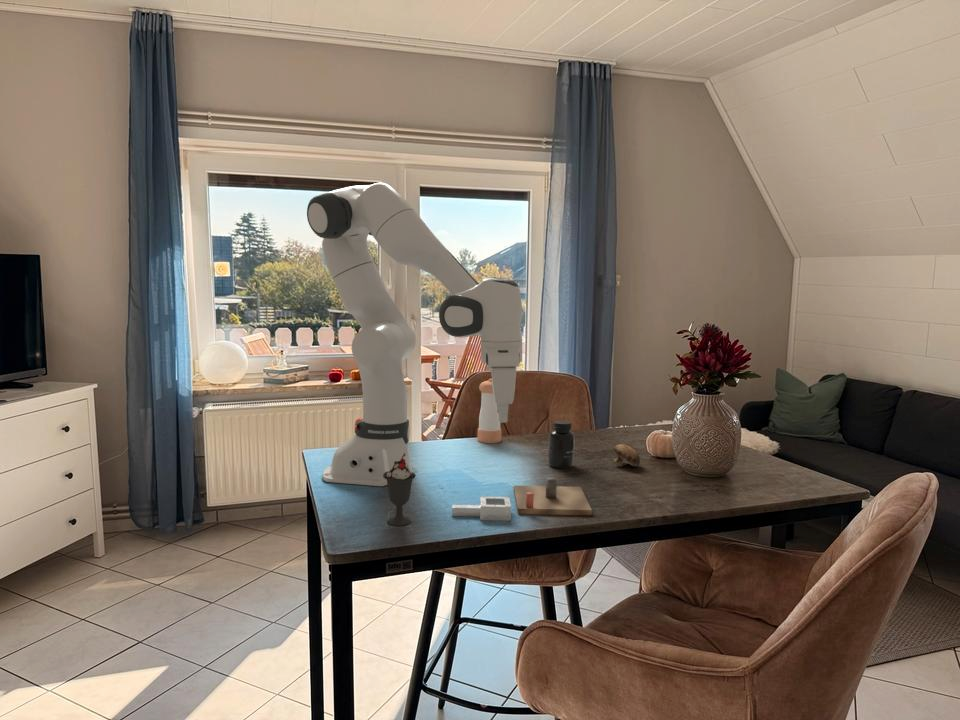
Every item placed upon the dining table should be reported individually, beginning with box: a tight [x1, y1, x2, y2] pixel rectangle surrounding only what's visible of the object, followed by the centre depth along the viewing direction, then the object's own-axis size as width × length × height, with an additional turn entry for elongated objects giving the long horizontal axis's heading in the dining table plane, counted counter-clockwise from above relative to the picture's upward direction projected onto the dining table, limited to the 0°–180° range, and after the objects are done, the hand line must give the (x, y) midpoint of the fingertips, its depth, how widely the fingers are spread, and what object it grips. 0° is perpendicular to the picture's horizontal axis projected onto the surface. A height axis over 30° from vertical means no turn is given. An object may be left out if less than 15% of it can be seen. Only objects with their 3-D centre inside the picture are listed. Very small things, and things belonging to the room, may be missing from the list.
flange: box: [451, 495, 512, 522], centre depth 150 cm, size 12×6×3 cm, turn 91°
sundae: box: [383, 453, 417, 527], centre depth 144 cm, size 7×7×15 cm
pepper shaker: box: [477, 378, 502, 444], centre depth 213 cm, size 7×7×19 cm
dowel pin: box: [526, 492, 534, 508], centre depth 152 cm, size 2×2×3 cm
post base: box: [513, 476, 593, 516], centre depth 159 cm, size 16×16×6 cm
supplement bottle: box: [547, 420, 575, 469], centre depth 188 cm, size 7×7×12 cm
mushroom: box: [613, 443, 641, 468], centre depth 190 cm, size 8×8×6 cm
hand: (502, 417), depth 151 cm, fingers open, 8 cm apart
